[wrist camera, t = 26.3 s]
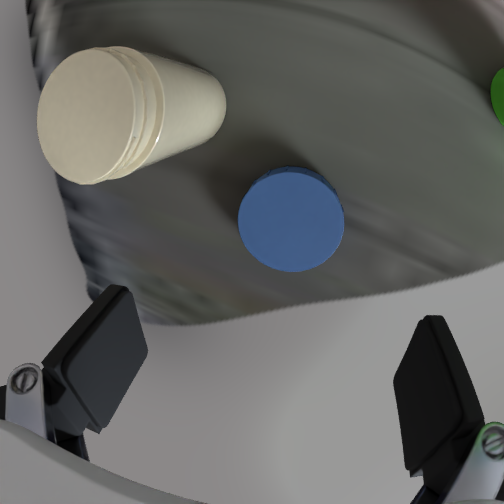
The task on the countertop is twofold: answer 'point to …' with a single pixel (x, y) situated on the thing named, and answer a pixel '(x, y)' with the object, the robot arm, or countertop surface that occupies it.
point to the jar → (124, 112)
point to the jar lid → (291, 219)
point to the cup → (498, 95)
